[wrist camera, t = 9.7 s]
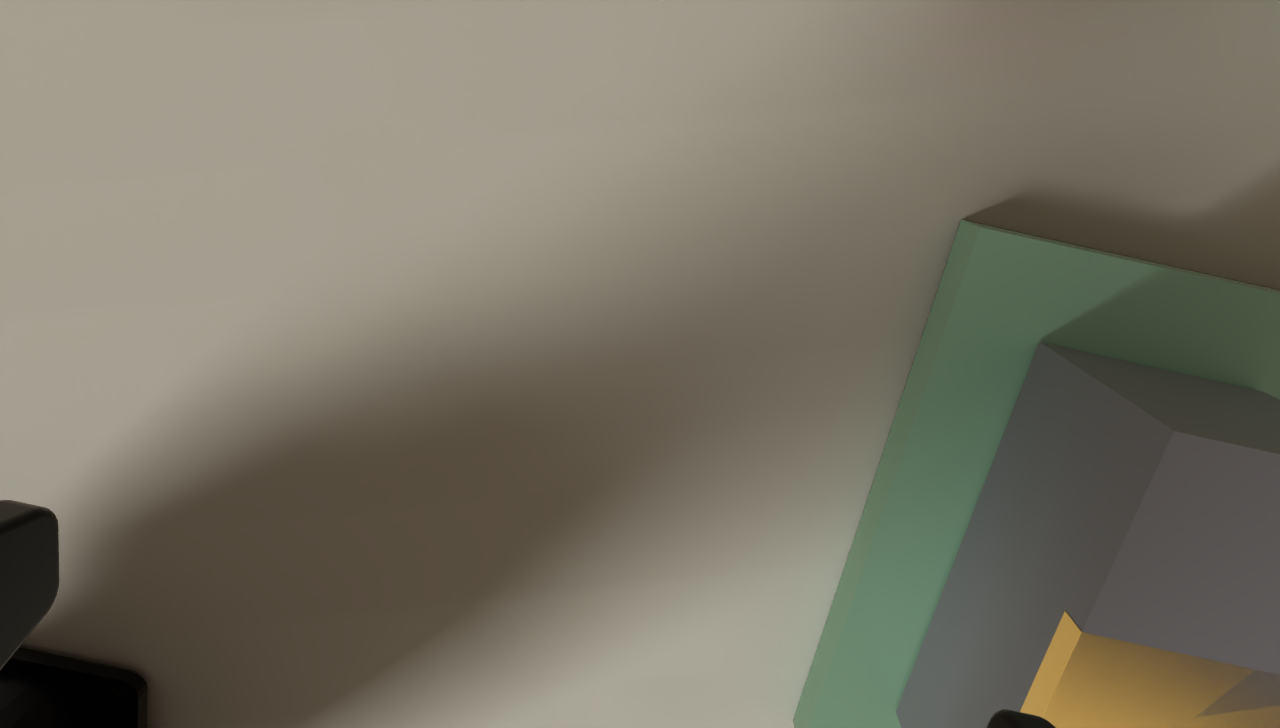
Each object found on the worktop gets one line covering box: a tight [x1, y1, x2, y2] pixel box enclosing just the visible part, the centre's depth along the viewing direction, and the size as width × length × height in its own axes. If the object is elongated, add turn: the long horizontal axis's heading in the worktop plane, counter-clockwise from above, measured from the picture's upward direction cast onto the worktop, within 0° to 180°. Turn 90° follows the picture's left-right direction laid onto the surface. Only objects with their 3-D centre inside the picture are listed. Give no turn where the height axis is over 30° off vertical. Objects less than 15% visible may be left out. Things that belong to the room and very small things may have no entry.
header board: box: [793, 220, 1280, 728], centre depth 18 cm, size 9×14×4 cm, turn 168°
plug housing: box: [896, 342, 1280, 728], centre depth 17 cm, size 5×10×5 cm, turn 168°
